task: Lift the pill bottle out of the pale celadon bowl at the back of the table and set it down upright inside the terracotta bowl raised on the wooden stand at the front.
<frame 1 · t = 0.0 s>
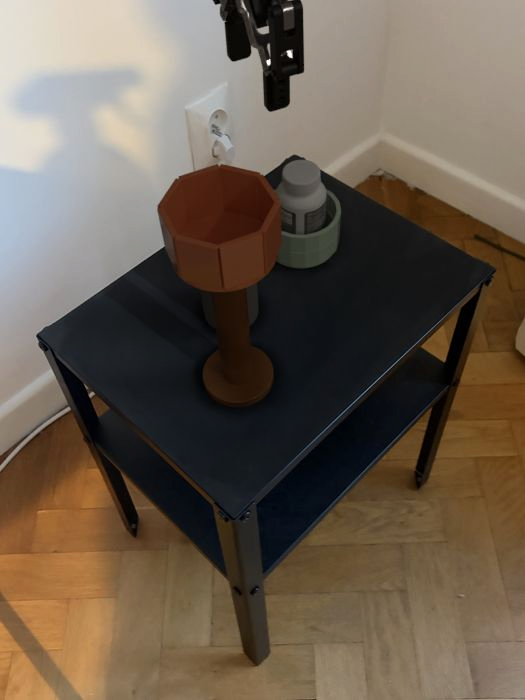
hand: (257, 82, 66), 21 cm above the table, tool pointing down, fingers open, 8 cm apart
pill bottle: (300, 240, 83), resting on back bowl
raised bowl: (224, 251, 58), resting on stand
back bowl: (300, 241, 83), on the table
stand: (238, 377, 72), on the table
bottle: (231, 312, 78), on the table
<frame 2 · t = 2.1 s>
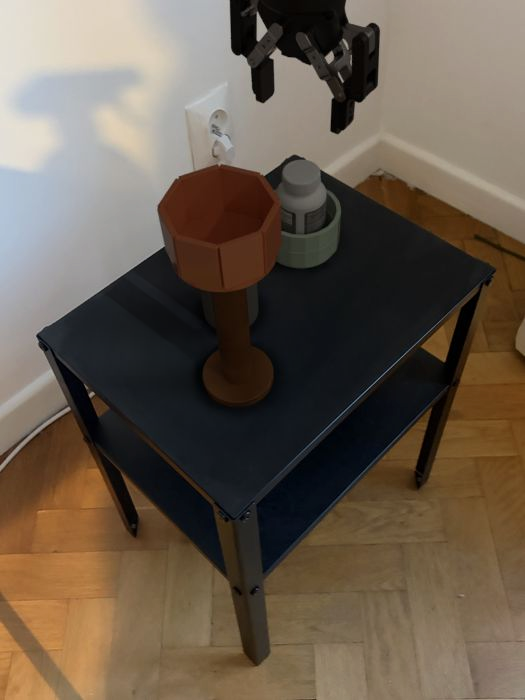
hand: (301, 113, 69), 17 cm above the table, tool pointing down, fingers open, 8 cm apart
nothing on the table moved.
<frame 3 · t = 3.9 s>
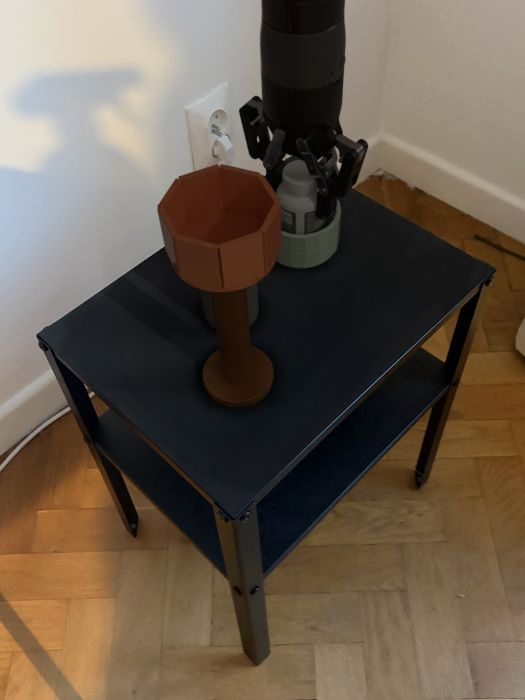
hand: (301, 203, 78), 6 cm above the table, tool pointing down, fingers closed on pill bottle, 5 cm apart
pill bottle: (300, 240, 83), resting on back bowl, touching gripper
everything else where it was.
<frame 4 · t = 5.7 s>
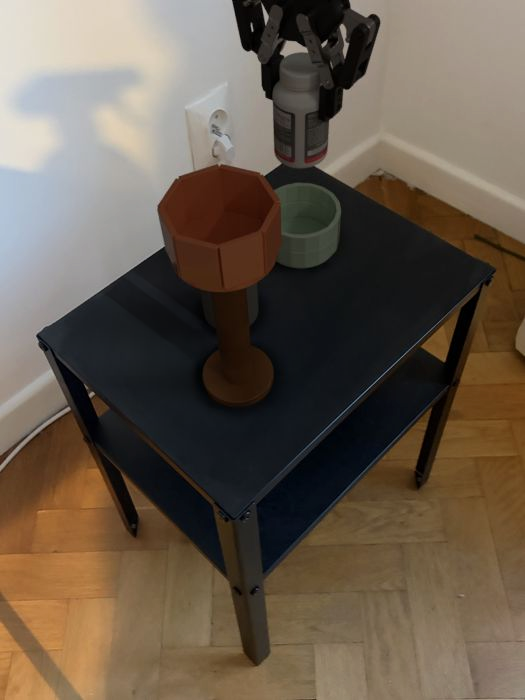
hand: (301, 105, 68), 18 cm above the table, tool pointing down, fingers closed on pill bottle, 5 cm apart
pill bottle: (300, 154, 73), point 12 cm above the table, touching gripper
everything else where it was.
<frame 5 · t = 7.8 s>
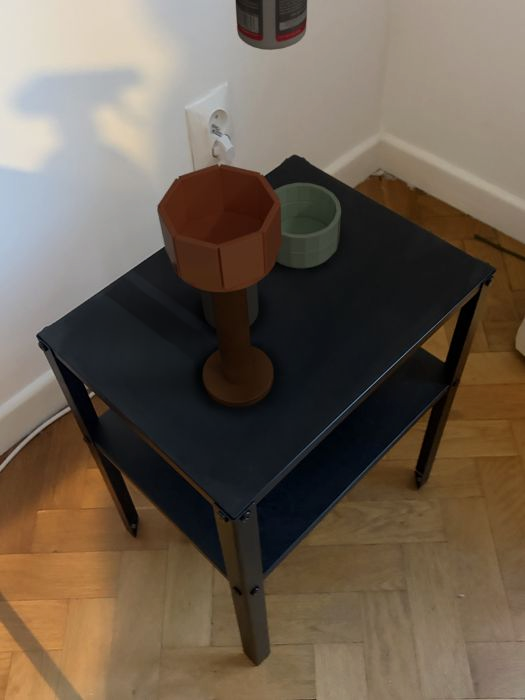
pill bottle: (271, 35, 57), point 29 cm above the table, touching gripper
everything else where it was.
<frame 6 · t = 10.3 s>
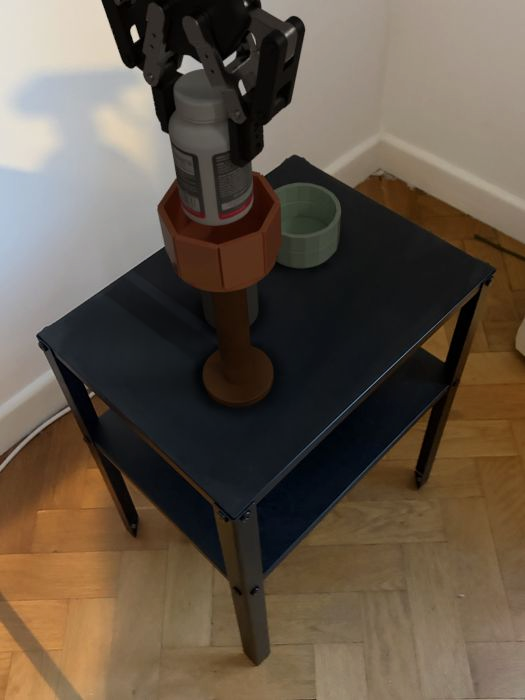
hand: (210, 142, 49), 29 cm above the table, tool pointing down, fingers closed on pill bottle, 5 cm apart
pill bottle: (217, 205, 54), point 23 cm above the table, touching gripper
everything else where it was.
when the fingers open (24 cm above the table, at t = 11.9 s): pill bottle stays where it is, resting on raised bowl.
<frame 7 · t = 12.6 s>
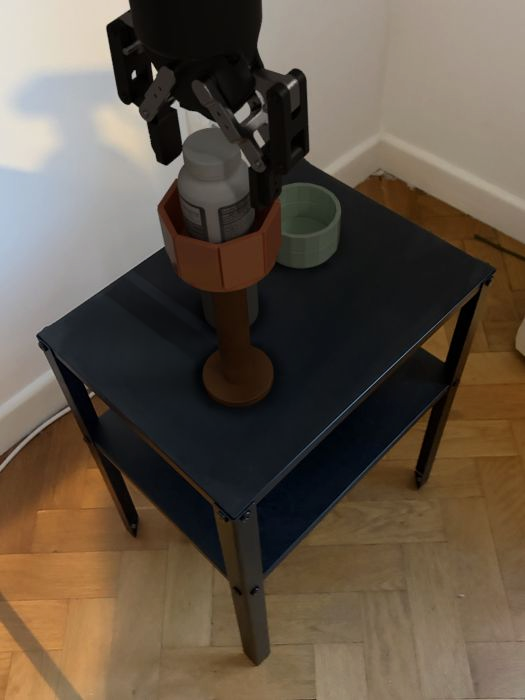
hand: (216, 180, 52), 25 cm above the table, tool pointing down, fingers open, 8 cm apart
pill bottle: (222, 248, 58), point 18 cm above the table, touching raised bowl
everything else where it was.
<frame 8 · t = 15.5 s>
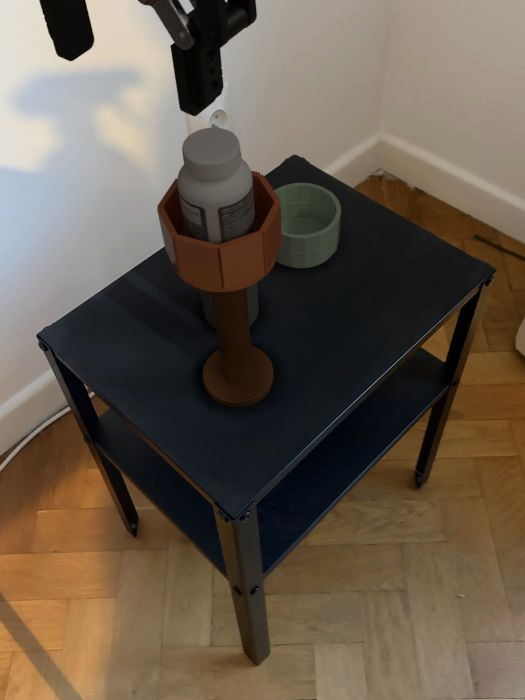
hand: (136, 78, 38), 38 cm above the table, tool pointing down, fingers open, 8 cm apart
nothing on the table moved.
at the end: pill bottle 0.1 cm off-centre on the raised bowl, point 0.4 cm above the raised bowl's base; pill bottle tilted 0°; the gripper is holding nothing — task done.
